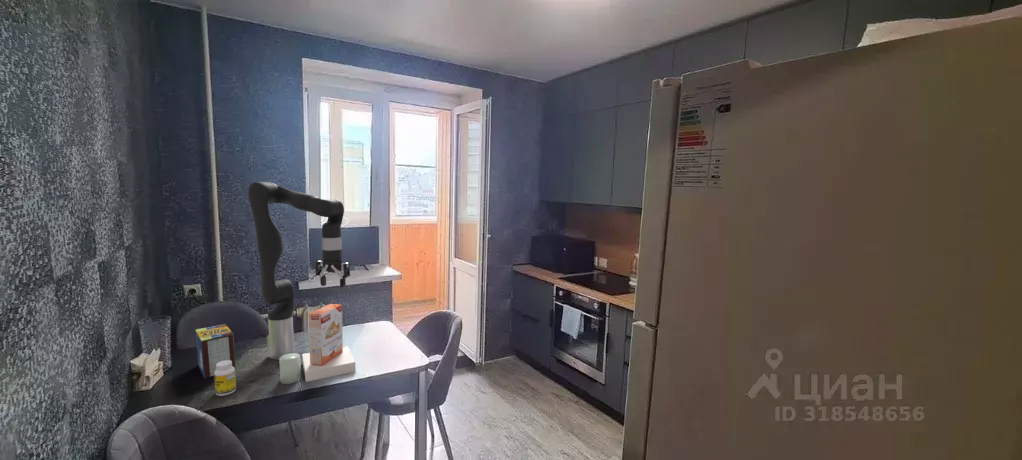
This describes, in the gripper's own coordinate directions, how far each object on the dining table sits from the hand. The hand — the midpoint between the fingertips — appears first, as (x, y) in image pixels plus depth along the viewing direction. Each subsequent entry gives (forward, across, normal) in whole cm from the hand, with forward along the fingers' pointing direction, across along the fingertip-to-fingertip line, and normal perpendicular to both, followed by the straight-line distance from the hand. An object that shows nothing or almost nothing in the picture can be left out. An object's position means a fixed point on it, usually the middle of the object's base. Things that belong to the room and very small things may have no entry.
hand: (333, 286), depth 169 cm
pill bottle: (+33, -23, -31) cm, 51 cm away
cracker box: (+29, 0, -6) cm, 29 cm away
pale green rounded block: (+33, -7, -18) cm, 38 cm away
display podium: (+33, +1, -6) cm, 33 cm away
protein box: (+33, -42, -17) cm, 56 cm away
